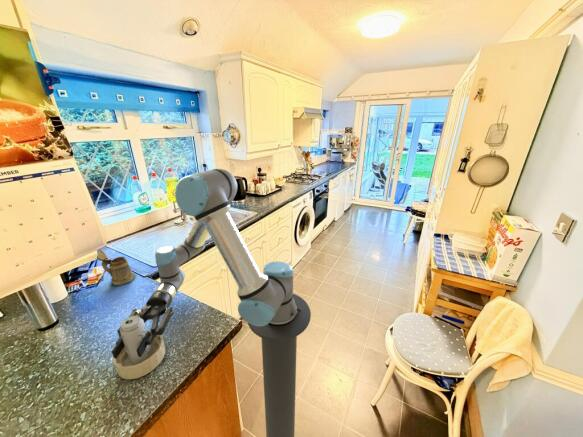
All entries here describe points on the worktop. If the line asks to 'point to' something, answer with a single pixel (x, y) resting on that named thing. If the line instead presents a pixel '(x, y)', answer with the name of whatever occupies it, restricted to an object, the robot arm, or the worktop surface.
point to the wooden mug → (116, 268)
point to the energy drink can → (134, 338)
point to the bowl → (141, 369)
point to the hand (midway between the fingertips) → (126, 354)
